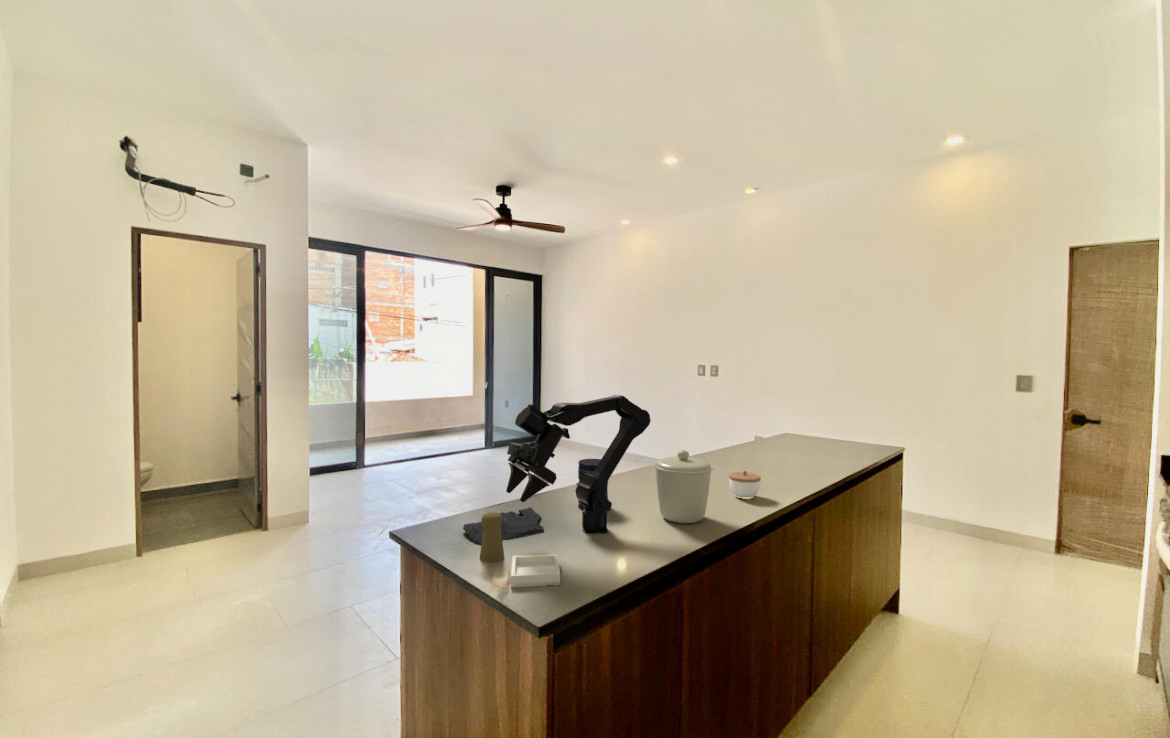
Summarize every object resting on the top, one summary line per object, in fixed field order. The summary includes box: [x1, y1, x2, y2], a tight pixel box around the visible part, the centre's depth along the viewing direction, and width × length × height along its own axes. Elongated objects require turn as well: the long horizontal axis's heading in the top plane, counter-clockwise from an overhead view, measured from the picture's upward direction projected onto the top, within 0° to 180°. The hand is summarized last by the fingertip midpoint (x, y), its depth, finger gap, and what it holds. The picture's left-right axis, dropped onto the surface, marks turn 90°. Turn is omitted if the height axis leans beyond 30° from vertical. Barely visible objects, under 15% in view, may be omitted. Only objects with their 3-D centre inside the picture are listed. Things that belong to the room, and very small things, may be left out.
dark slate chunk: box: [462, 507, 545, 546], centre depth 141 cm, size 15×22×5 cm
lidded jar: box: [728, 470, 761, 498], centre depth 175 cm, size 11×11×9 cm
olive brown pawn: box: [479, 511, 505, 564], centre depth 122 cm, size 6×6×11 cm
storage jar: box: [577, 458, 609, 511], centre depth 163 cm, size 10×10×15 cm
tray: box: [510, 553, 561, 588], centre depth 112 cm, size 11×11×2 cm
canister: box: [652, 449, 714, 524], centre depth 152 cm, size 18×18×21 cm
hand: (514, 496), depth 129 cm, fingers open, 9 cm apart
